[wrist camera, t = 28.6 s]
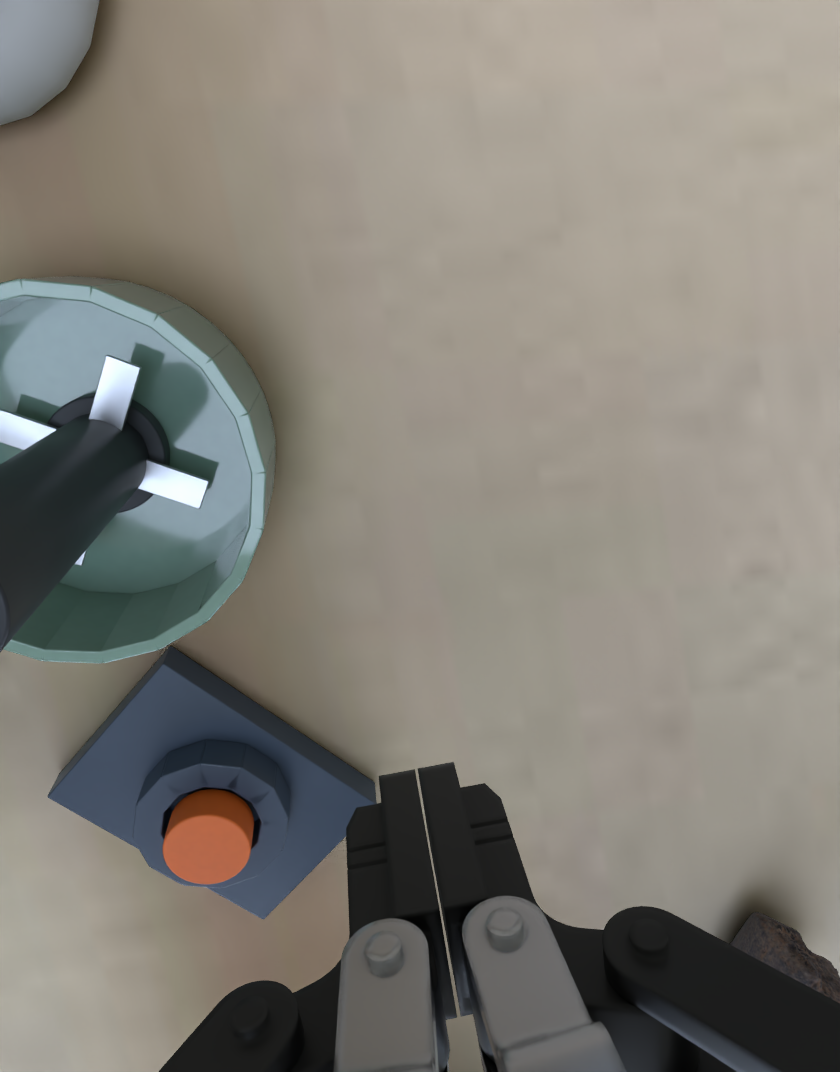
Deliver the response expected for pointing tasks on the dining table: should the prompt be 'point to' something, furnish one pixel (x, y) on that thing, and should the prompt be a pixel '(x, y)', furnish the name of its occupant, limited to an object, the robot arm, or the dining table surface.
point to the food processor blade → (77, 485)
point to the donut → (40, 51)
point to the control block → (213, 778)
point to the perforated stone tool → (787, 954)
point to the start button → (209, 837)
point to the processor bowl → (195, 447)
